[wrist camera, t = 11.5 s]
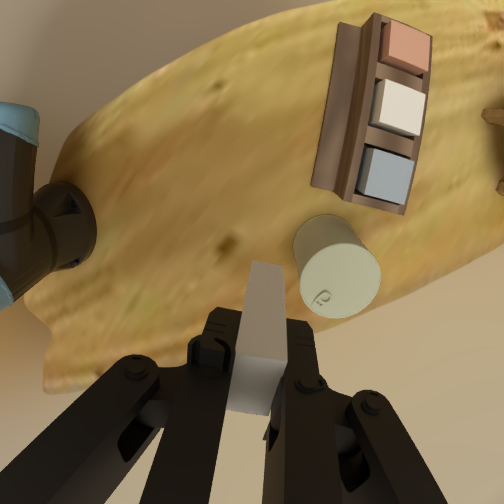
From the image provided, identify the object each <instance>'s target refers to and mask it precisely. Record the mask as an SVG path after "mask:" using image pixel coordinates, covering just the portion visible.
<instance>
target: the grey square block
mask: <svg viewBox="0 0 504 504" xmlns="http://www.w3.org/2000/svg"><path fill="white" fill-rule="evenodd" d="M413 166H414V161H411V160H408V159H405V158H402V157H399V156H396V155H393V154H390V153H387V152H384V151H380V150H377V149H373V148H363V153H362V158H361V162H360V167H359V172H358V176H357V181H356V185H355V189H357V190H358V191H360V192H362V193H363V194H365V195H369V196H373V197H377V198H381V199H384V200H388V201H392V202H395V203H399V204H403V205H404V204H405V200H406V196H407V192H408V188H409V184H410V179H411V175H412V171H413Z"/></svg>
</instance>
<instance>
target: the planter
mask: <svg viewBox="0 0 504 504" xmlns="http://www.w3.org/2000/svg"><path fill="white" fill-rule="evenodd" d="M481 116H482V117H483V118H484V119H485V120H486V121H487V122H488V123H494V124H498V125H501V126H504V109H491V110H483V112H482V115H481ZM496 191H497V192H498V193H499V194H500V195H503V196H504V182H501V181H499V183H498V186H497V188H496Z"/></svg>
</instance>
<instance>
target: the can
mask: <svg viewBox="0 0 504 504" xmlns="http://www.w3.org/2000/svg"><path fill="white" fill-rule="evenodd" d="M293 250H294V255H295V258H296V261H297V267H298V274H299V288H300V293H301V297H302V299H303V301H304V302H305V304H306V305H307V306H308V307H309V309H311V310H312V311H313V312H315V313H316V314H318V315H320V316H323V317H327V318H344V317H348V316H351V315H354V314H356V313H358V312H360V311H361V310H363V309H364V308H365V307H366V306H367V305H369V303H370V302H371V301H372V300H373V298H374V297H375V295H376V293H377V291H378V289H379V285H380V280H381V273H380V268H379V264H378V262H377V260H376V259H375V257H374V256H373V255H372V253H371V252H369V251H368V249H367V248H366V247H365V246H364V245H363V243H362V242H361V241H360V239H359V238H358V237H357V236H356V234H355V233H354V231H353V229H352V227H351V226H350V225H349V224H348V223H347V222H346V221H345V220H343V219H342V218H340V217H337V216H333V215H320V216H316V217H313V218H311V219H310V220H308V221H307V222H305V223H304V224H303V225H302V226H301V227H300V229H299V230H298V232H297V233H296V236H295V239H294V244H293Z"/></svg>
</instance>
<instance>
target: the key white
mask: <svg viewBox="0 0 504 504" xmlns="http://www.w3.org/2000/svg"><path fill="white" fill-rule="evenodd" d="M424 103H425V94H423V93H421V92H418V91H416V90H414V89H411V88H409V87H406V86H404V85H401V84H398V83H396V82H393V81H390V80H388V79H385V80H383V81H381V82H379V83H377V84H375V85H374V90H373V97H372V103H371V109H370V115H369V121H368V126H371V127H374V128H377V129H381V130H384V131H387V132H390V133H393V134H396V135H407V136H420V130H421V124H422V117H423V110H424Z"/></svg>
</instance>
